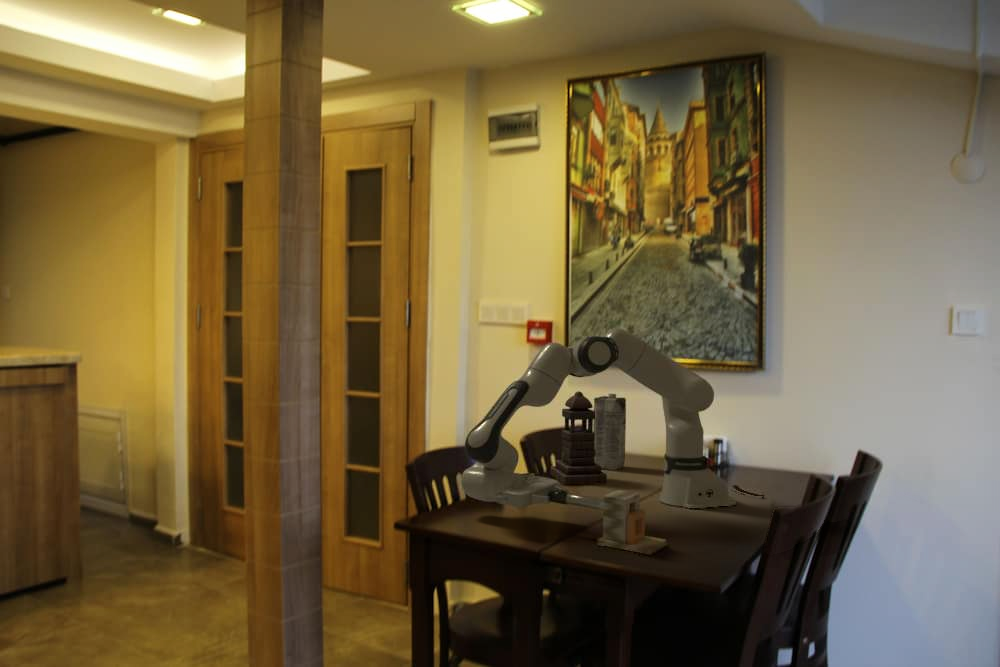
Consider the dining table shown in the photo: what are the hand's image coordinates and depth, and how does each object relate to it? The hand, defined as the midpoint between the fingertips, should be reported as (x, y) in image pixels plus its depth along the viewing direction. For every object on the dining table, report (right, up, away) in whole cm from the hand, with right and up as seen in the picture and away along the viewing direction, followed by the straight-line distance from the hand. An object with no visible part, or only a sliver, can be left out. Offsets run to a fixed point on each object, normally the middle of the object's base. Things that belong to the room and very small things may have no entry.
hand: (557, 496), depth 214 cm
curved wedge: (+64, -9, +47) cm, 80 cm away
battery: (+24, -6, +82) cm, 86 cm away
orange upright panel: (+18, -8, -12) cm, 23 cm away
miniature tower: (+11, -7, +63) cm, 64 cm away
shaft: (+6, -2, -4) cm, 7 cm away
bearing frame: (+17, -10, -11) cm, 23 cm away
